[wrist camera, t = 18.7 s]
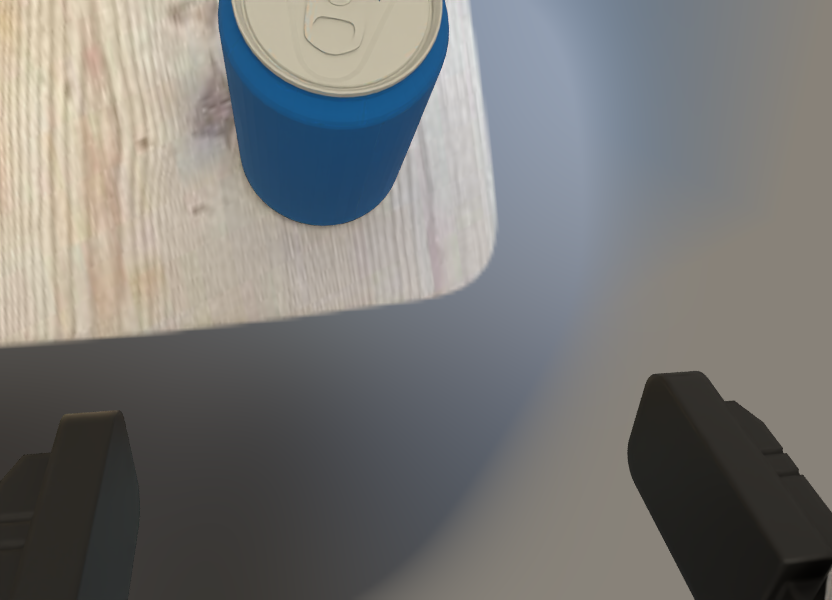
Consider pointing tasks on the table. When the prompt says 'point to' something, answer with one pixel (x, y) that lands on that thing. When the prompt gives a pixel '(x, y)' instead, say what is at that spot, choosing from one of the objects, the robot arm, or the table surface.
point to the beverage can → (329, 97)
